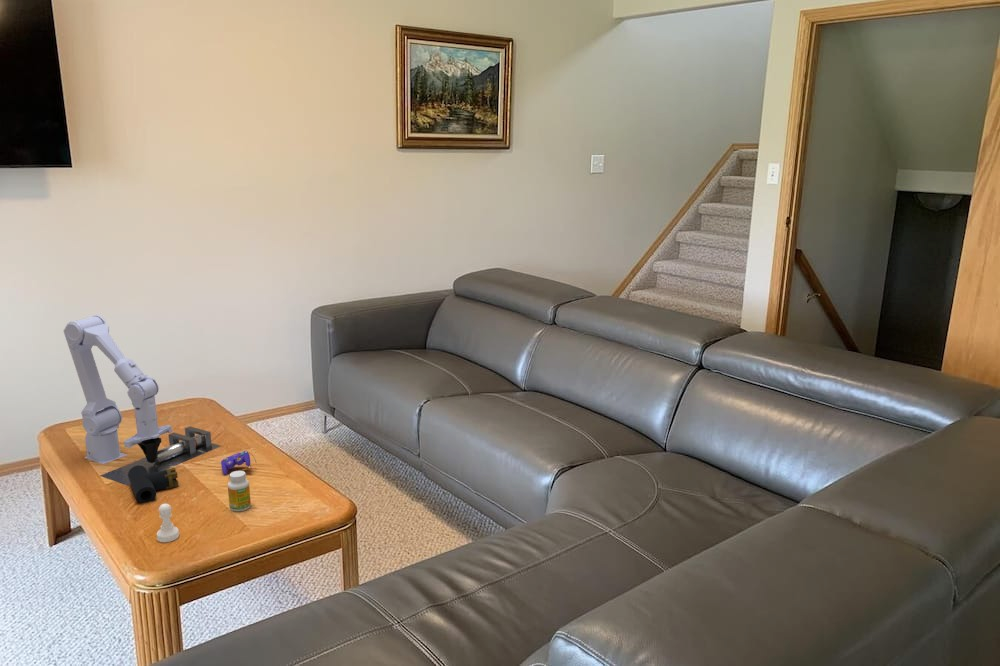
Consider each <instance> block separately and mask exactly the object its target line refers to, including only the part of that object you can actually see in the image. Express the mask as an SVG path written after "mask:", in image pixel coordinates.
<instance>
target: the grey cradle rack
mask: <svg viewBox="0 0 1000 666" xmlns="http://www.w3.org/2000/svg"><path fill="white" fill-rule="evenodd" d="M167 435H168V443H169V444H168V445H169V446H171V445H174V444H176V443H179V442H181V441H185V447H186V452H185V453H182V454H180V455H177V456H175V457H172V458H170V459H168V460H165V461H163V462H160V463H158V464H156V463H155V462H154V463H150V462H148V461H147V459H146V456H144V458H141V459H138V460H136V461H134V462H131V463H128V464H125V465H122V466H121V467H118V468H115V469H112V470H110V471H108V472H105V473H103V474H101V475H99V476H100V477H101V478H104V479H107V480H111V481H113V482H116V483H119V484H122V485H125V486H127V487H128V486H131V483H130V480H129V478H128V472H129V470H130V469H131V468H132V467H134V466H138V465H139V466H143V467H145V468H146V470H147V472H148V474H150V473H155V472H159V471H162V470H166V469H171V468H175V466H178V465H181V464H183V463H186V462H188V461H189V460H192V459H194V458H197V457H200V456H203V455H204V454H206V453H208V452H211V451H213V450H216V449H218V448H221V447H222V445H220V444H216V443H212V434H211V431H208V430H204V429H200V428H197V427H194V426H187V427H184V434H181V433H177V432H170V433H168V434H167ZM196 435H201V439H202V446H200V447H197V448H195V438H192V437H194V436H196Z"/></svg>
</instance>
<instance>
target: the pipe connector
mask: <svg viewBox="0 0 1000 666" xmlns="http://www.w3.org/2000/svg"><path fill="white" fill-rule="evenodd" d="M178 477H179V476H178V472H177V471H176V468H175V467H171V468H169V469H166V470H162V471H159V472H155V473H150V474H148V472H147V470H146V468H145V467H143V466H139V465H138V466H134V467H132V468H131V469H130V470H129V472H128V478H129V480H130V483H131V485H130V486H131V489H132V492H133V495H134V497H135V499H136V501H137V503H138V504H147V503H151V502H153V501H155V499H156V498H157V491H159V490H160V491H162V490H165V489H166V490H167V489H172V488H177V487H179V481H178Z"/></svg>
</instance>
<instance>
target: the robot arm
mask: <svg viewBox="0 0 1000 666" xmlns="http://www.w3.org/2000/svg"><path fill="white" fill-rule="evenodd" d="M63 334H64V337H65V341H66V343H67V346H68V349H69V352H70V355H71V358H72V360H73V365H74V367H75V370H76V373H77V376H78V379H79V382H80V385H81V388H82V391H83V394H84V399H85V401H86V405H85V406H84V407H83V409H82V410H81V416H82V421H81V422H82V427H83V430H84V431H85V432H86V434H85V437H84V441H85V448H86V454H87V456H85V457H84V459H87V460H90V461H92V462H95V463H98V464H101V465H106V464H107V463H110V462H112V461H113V462H114V461H115V460H118V459H121V458H123V457H126V456H127V455H128V454H126V453H123V452H121V448H120V442H119V433H118V429H119V428H120V426H119V425H120V424H121V423H122V421H123V415H122V411H120V409H119V408H118V406H117V404H116V401H114V400H112V399H109V398H108V397H107V395H106V391H105V388H104V386H103V382H102V379H101V376H100V373H99V370H98V366H97V363H96V359H95V358H94V354H93V351H92V348H93V346H94V347H97V348H98V349H99V350H100V351H101V352H102V353H103V354H104V355H105V356H106V358H107V359H109V361H111V363H112V364H113V365H114V368H113V369H114V372H115V374H116V375H117V377H118V378H119V379H120V380H121V381H122V382H123V384H124V385H125V387H126V388H128V391H127V392H126V393H127V395H128V398H129V400H131V405H132V407H133V408H134V414H135V424H136V432H137V433H136V434H134V435H132V436H131V437H129V438H127V439H125V440H123V445H124V448H128V449H131V448H132V447H134V446H135V445H137V446H139V448H140V449H141V451H142V452H143V454H144V457H146V459H147V461H148V462H150V463H154V462H155V460H156V455H157V451H158V450H159V447H160V446H161V443H162V438H161V437H160V436H162V435H165V434H167V433H168V434H171V433H173V429H172V426H171V425H169V424H166V425H163V426H159V422H158V413H157V406H156V397H155V396H156V395H158V393H159V384H158V383H157V381H156V380H155V379H154V378H153V377H150V376H148V375H147V374H144V373H143V371H142V370H141V369H140V368H139V366H138V365H137V363H135V361H134V360H133V359H131V358H126V357H125V355H124V354H123V352H122V351H121V349H120V348H119V346H118V345H117V344H116V342H115V341H114V339H113V338H112V336H111V334H110V326H109V324H107V323H106V320H105V319H104V318H103V317H102V316H100V315H98V314H97V315H92V316H90V317H87V318H82V319H79V320H75V321H74V320H73V321H69V322H67V324H66V325H65V327H64V329H63Z"/></svg>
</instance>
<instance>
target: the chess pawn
mask: <svg viewBox="0 0 1000 666" xmlns="http://www.w3.org/2000/svg"><path fill="white" fill-rule="evenodd" d="M171 511H172V506H171V505H170V504H169V503H162V504H160V506H159V507H158V513H159V515H158V516H159V519H162V524H161V525H160V527H159V528H160V529H158V531H157V532H156V540H157V541H158V542H159V543H169V542H174V541H175V540H177V539H178V538H179V537H180V532H179V531H180V530H179V528H178V527H177V526H174V523H173V522H172V521H171V519H170V518H171V517H172V516H173V512H172V513H171Z"/></svg>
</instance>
